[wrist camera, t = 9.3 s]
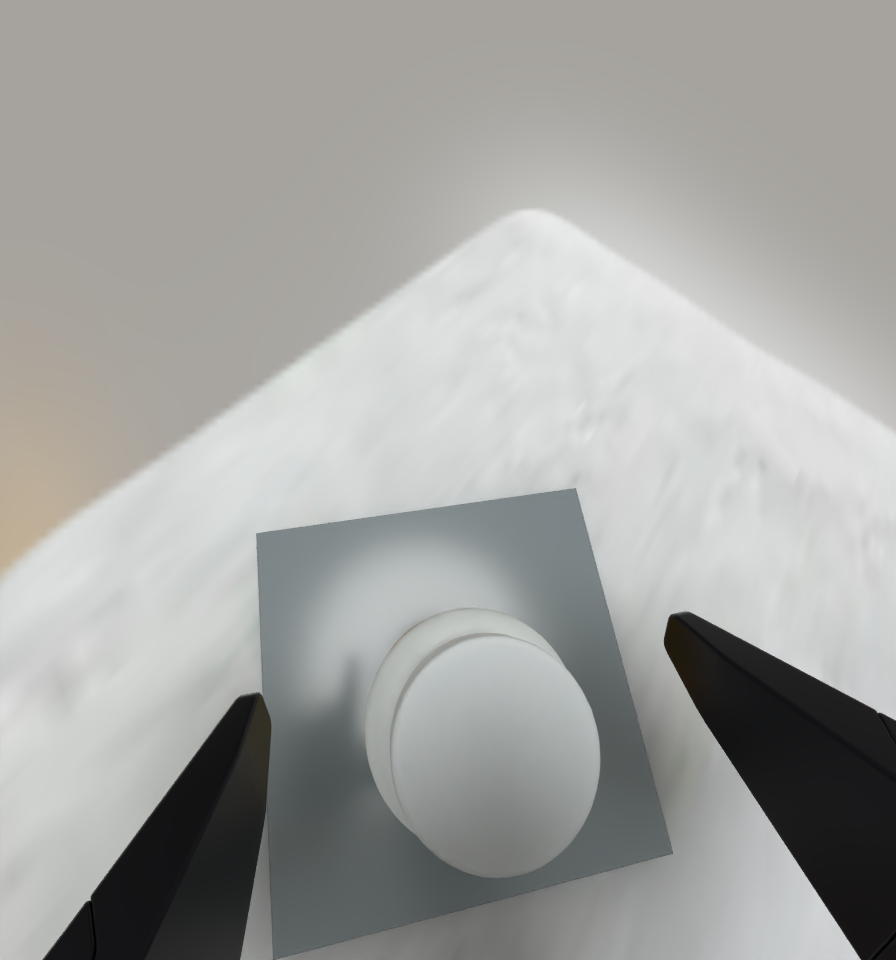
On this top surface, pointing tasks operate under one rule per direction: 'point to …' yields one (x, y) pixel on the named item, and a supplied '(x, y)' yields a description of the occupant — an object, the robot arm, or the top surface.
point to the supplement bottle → (482, 742)
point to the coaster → (349, 677)
